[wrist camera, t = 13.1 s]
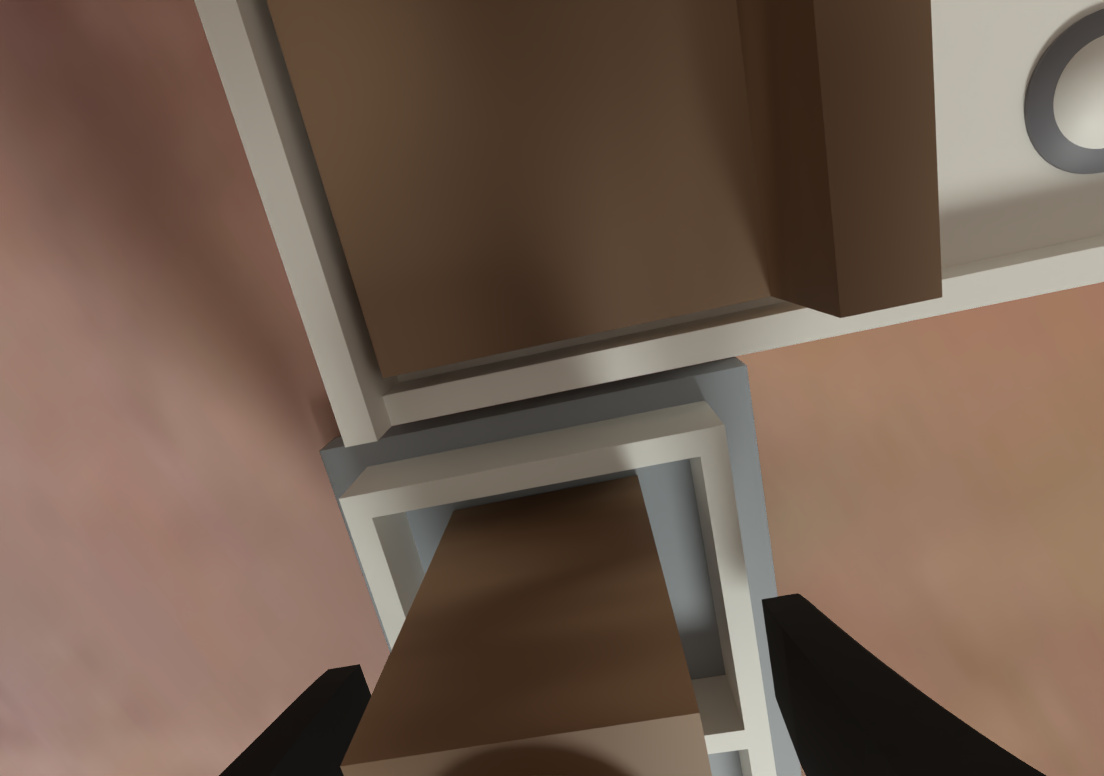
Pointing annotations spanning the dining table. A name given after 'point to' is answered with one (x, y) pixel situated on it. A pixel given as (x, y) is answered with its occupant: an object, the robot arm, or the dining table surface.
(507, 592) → the walnut pin
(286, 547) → the dining table surface
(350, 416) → the board
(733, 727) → the socket board
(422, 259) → the cover
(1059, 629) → the dining table surface
